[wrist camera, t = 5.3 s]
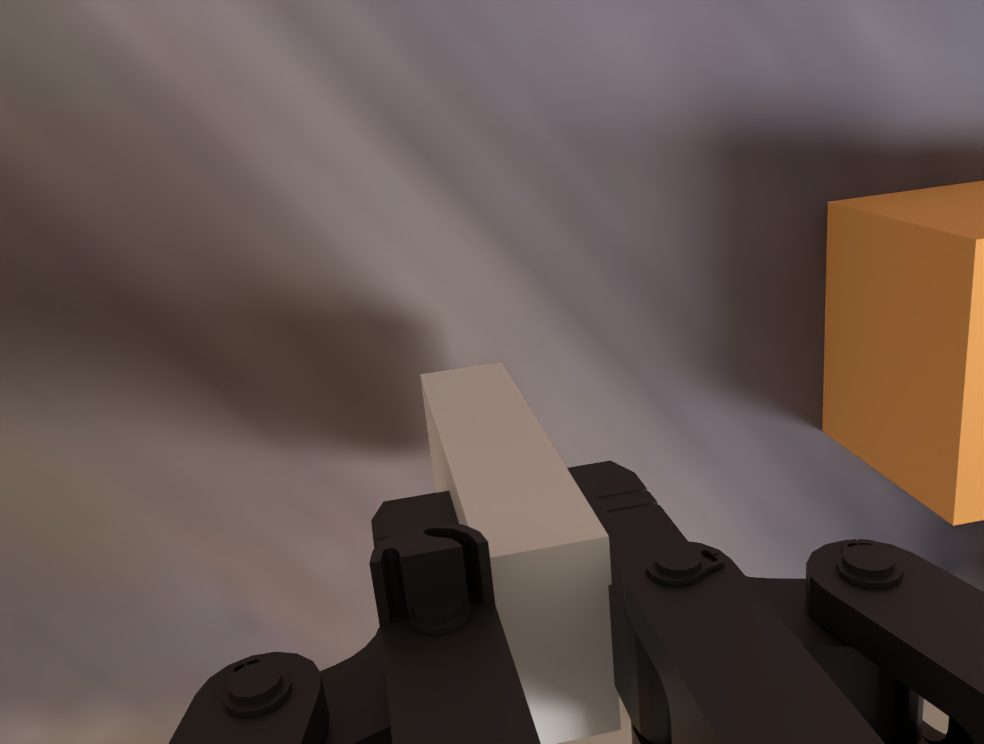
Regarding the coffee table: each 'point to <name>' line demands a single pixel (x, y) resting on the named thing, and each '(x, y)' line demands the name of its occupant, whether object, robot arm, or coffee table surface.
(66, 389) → the coffee table surface
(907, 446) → the block
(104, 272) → the coffee table surface
